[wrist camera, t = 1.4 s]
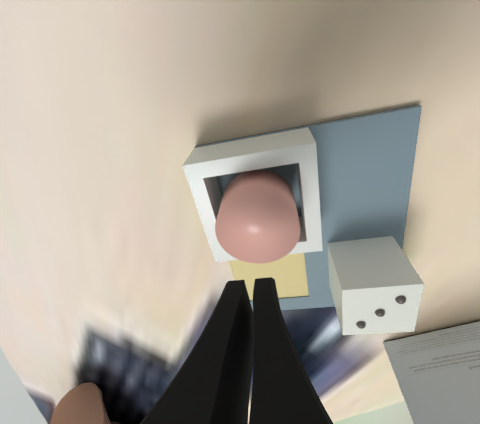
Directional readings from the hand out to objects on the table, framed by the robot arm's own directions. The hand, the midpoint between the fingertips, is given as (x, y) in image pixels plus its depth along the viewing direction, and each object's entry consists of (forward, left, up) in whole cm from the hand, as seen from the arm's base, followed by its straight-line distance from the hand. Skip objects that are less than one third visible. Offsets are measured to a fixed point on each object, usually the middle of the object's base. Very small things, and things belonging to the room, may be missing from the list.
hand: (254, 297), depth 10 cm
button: (0, 0, -7) cm, 7 cm away
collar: (0, 0, -9) cm, 9 cm away
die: (-6, +7, -9) cm, 13 cm away
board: (-3, +4, -9) cm, 11 cm away
